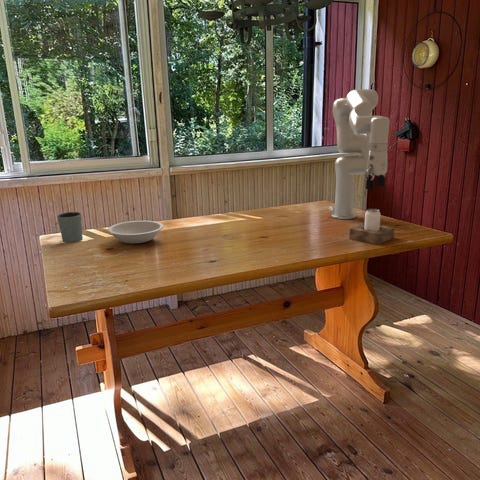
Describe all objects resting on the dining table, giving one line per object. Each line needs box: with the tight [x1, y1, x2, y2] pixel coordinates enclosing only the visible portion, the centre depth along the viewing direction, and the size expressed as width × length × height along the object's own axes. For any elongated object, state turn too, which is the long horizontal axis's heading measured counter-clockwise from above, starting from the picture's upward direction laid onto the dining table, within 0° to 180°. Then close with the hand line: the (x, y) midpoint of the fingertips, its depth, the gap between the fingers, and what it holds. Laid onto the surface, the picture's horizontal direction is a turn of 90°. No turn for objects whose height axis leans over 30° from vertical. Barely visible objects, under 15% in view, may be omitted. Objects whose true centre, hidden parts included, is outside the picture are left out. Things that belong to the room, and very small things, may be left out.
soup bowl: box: [107, 220, 164, 245], centre depth 198 cm, size 24×24×7 cm
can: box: [364, 208, 381, 231], centre depth 197 cm, size 6×6×12 cm
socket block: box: [348, 222, 395, 246], centre depth 198 cm, size 14×14×4 cm
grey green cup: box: [56, 211, 83, 244], centre depth 201 cm, size 10×10×12 cm
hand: (375, 187), depth 193 cm, fingers open, 9 cm apart
